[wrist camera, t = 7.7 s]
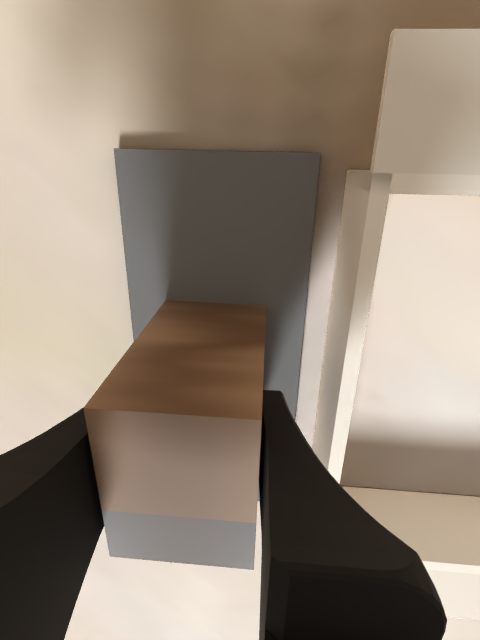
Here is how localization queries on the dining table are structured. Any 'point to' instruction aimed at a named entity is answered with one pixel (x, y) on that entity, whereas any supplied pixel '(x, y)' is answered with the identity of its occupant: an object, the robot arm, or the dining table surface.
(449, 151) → the carton
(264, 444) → the robot arm
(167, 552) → the block
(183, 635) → the dining table surface
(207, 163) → the mat
